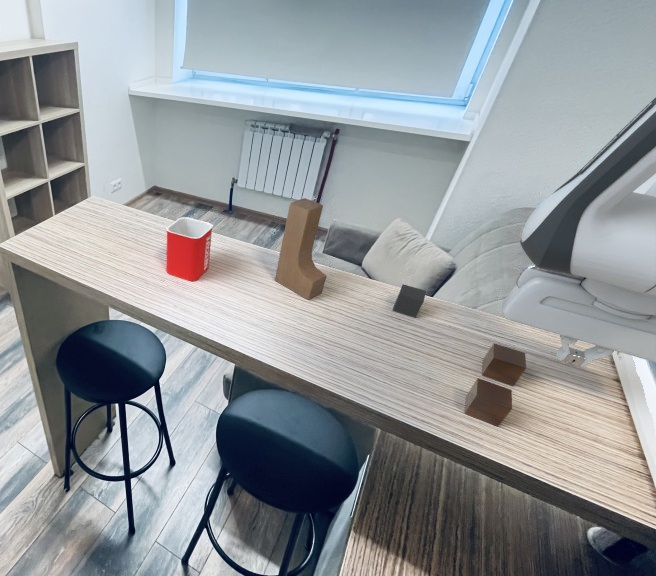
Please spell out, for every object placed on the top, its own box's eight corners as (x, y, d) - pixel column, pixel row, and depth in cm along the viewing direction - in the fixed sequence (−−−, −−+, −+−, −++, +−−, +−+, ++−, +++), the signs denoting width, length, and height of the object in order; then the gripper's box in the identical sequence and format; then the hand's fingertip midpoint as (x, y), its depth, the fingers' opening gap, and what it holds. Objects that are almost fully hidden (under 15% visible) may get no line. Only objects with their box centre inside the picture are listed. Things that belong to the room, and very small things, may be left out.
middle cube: (512, 370, 66) (525, 352, 63) (512, 386, 63) (526, 368, 61) (482, 360, 68) (493, 342, 65) (481, 375, 65) (493, 357, 63)
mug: (195, 283, 87) (198, 240, 81) (162, 272, 91) (162, 230, 85) (219, 259, 96) (223, 217, 89) (188, 250, 99) (190, 209, 93)
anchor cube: (418, 307, 80) (426, 290, 77) (415, 318, 77) (423, 301, 75) (395, 300, 81) (402, 284, 79) (392, 310, 79) (399, 294, 77)
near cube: (498, 408, 60) (511, 389, 57) (498, 427, 57) (512, 408, 55) (465, 395, 62) (477, 377, 59) (464, 413, 59) (476, 395, 57)
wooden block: (322, 293, 84) (345, 212, 73) (308, 301, 82) (330, 219, 71) (287, 274, 90) (304, 197, 80) (273, 280, 88) (289, 202, 78)
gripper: (530, 269, 54) (481, 346, 62) (770, 326, 44) (675, 408, 52) (528, 249, 58) (482, 323, 66) (746, 297, 48) (662, 377, 56)
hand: (569, 361), depth 59 cm, fingers closed
